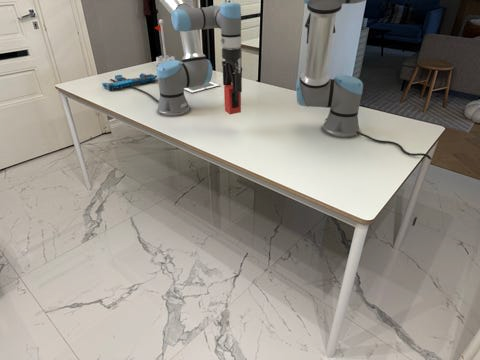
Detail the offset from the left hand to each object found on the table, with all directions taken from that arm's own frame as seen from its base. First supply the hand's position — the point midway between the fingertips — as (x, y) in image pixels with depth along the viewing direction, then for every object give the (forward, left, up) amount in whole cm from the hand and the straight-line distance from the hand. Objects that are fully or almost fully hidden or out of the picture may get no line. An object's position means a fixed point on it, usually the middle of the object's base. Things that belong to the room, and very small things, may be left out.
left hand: (232, 105), depth 144 cm
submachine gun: (-95, -9, -12) cm, 96 cm away
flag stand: (-118, +26, -12) cm, 121 cm away
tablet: (-71, +19, -12) cm, 75 cm away
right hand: (-6, +56, +16) cm, 59 cm away
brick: (0, 0, -3) cm, 3 cm away
